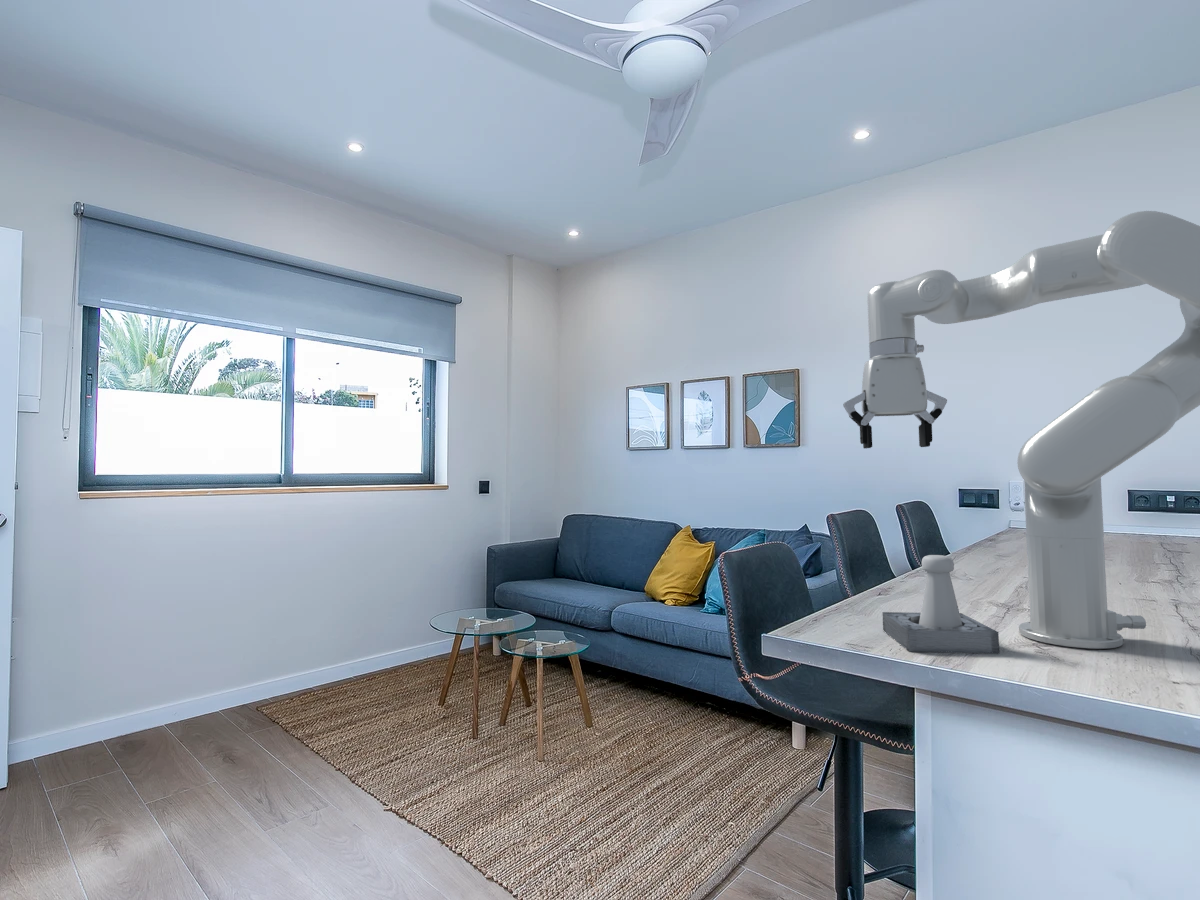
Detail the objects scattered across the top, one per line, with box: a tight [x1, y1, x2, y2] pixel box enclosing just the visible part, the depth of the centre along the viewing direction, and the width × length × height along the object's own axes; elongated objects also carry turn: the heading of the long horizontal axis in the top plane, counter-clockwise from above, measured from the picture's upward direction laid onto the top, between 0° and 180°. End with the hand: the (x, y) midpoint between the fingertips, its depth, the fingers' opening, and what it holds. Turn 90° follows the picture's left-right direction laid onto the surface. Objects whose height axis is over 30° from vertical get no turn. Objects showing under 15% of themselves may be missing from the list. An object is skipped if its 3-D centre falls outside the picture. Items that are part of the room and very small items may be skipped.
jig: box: [882, 611, 1000, 654], centre depth 93 cm, size 12×12×3 cm
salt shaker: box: [919, 554, 963, 628], centre depth 93 cm, size 6×6×13 cm
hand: (896, 447), depth 109 cm, fingers open, 9 cm apart
